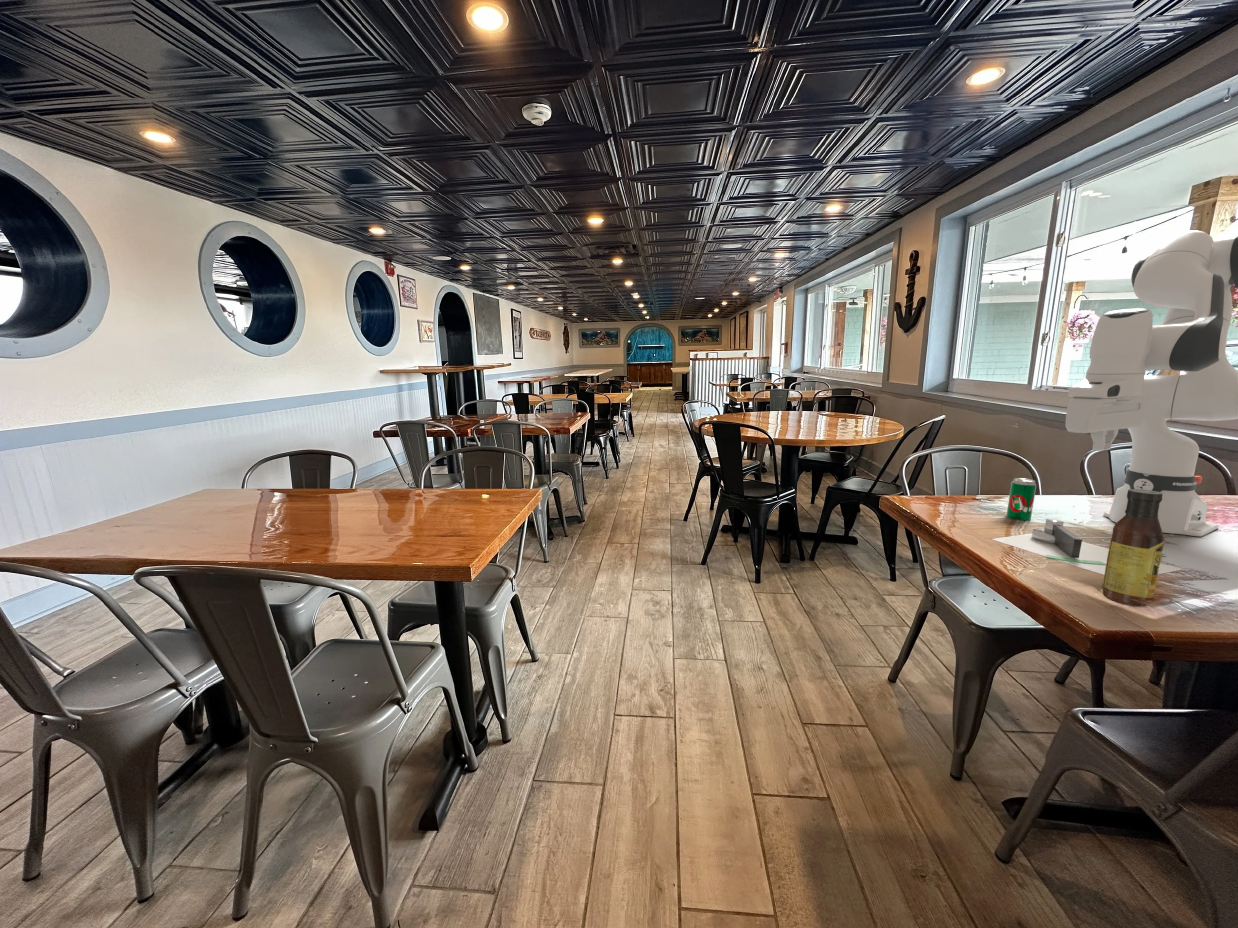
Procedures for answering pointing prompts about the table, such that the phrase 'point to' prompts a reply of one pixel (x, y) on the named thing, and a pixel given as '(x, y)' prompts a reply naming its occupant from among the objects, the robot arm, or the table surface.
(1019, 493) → the soda can
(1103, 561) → the board
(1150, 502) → the sauce bottle
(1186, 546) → the table surface
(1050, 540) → the grey black long piece
